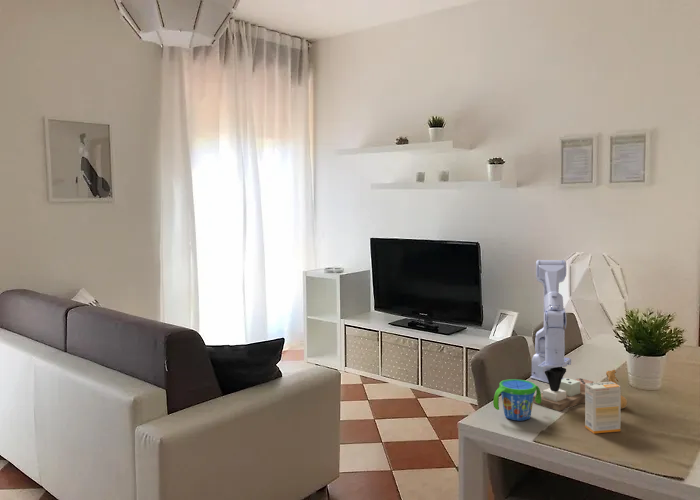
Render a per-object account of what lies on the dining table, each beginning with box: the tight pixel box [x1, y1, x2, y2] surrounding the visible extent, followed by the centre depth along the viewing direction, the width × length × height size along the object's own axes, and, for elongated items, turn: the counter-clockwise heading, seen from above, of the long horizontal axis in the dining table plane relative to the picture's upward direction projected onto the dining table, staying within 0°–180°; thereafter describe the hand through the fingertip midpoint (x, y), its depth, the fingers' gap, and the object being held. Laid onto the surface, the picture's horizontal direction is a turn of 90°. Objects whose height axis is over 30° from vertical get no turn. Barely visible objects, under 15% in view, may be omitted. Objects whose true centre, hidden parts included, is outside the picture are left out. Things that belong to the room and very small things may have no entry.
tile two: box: [559, 377, 580, 397], centre depth 189 cm, size 5×5×4 cm
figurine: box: [606, 369, 628, 410], centre depth 179 cm, size 8×6×12 cm
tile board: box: [533, 391, 585, 412], centre depth 189 cm, size 24×10×2 cm, turn 125°
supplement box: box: [584, 381, 622, 435], centre depth 163 cm, size 8×5×13 cm, turn 97°
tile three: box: [575, 377, 595, 392], centre depth 193 cm, size 5×5×4 cm
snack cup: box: [492, 378, 542, 422], centre depth 174 cm, size 16×10×10 cm
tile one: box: [542, 387, 566, 402], centre depth 185 cm, size 5×5×4 cm
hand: (554, 390), depth 184 cm, fingers closed, pressing on tile one
